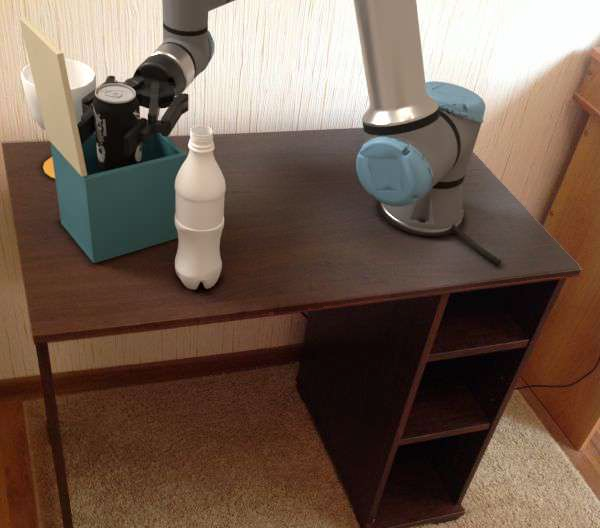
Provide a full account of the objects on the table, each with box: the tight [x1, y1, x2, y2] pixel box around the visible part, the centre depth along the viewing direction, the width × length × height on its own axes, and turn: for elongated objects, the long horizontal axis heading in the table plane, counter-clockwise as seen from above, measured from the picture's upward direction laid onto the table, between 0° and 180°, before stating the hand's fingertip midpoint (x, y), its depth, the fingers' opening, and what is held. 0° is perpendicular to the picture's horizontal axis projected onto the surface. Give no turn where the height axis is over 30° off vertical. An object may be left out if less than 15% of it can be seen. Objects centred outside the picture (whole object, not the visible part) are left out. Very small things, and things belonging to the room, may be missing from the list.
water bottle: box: [174, 124, 227, 290], centre depth 109 cm, size 7×7×25 cm
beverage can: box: [93, 83, 142, 172], centre depth 112 cm, size 7×7×12 cm
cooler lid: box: [18, 15, 87, 177], centre depth 103 cm, size 18×12×1 cm
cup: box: [20, 58, 97, 180], centre depth 129 cm, size 12×12×17 cm
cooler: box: [49, 118, 188, 264], centre depth 119 cm, size 17×12×15 cm
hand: (102, 140), depth 108 cm, fingers closed on beverage can, 6 cm apart
